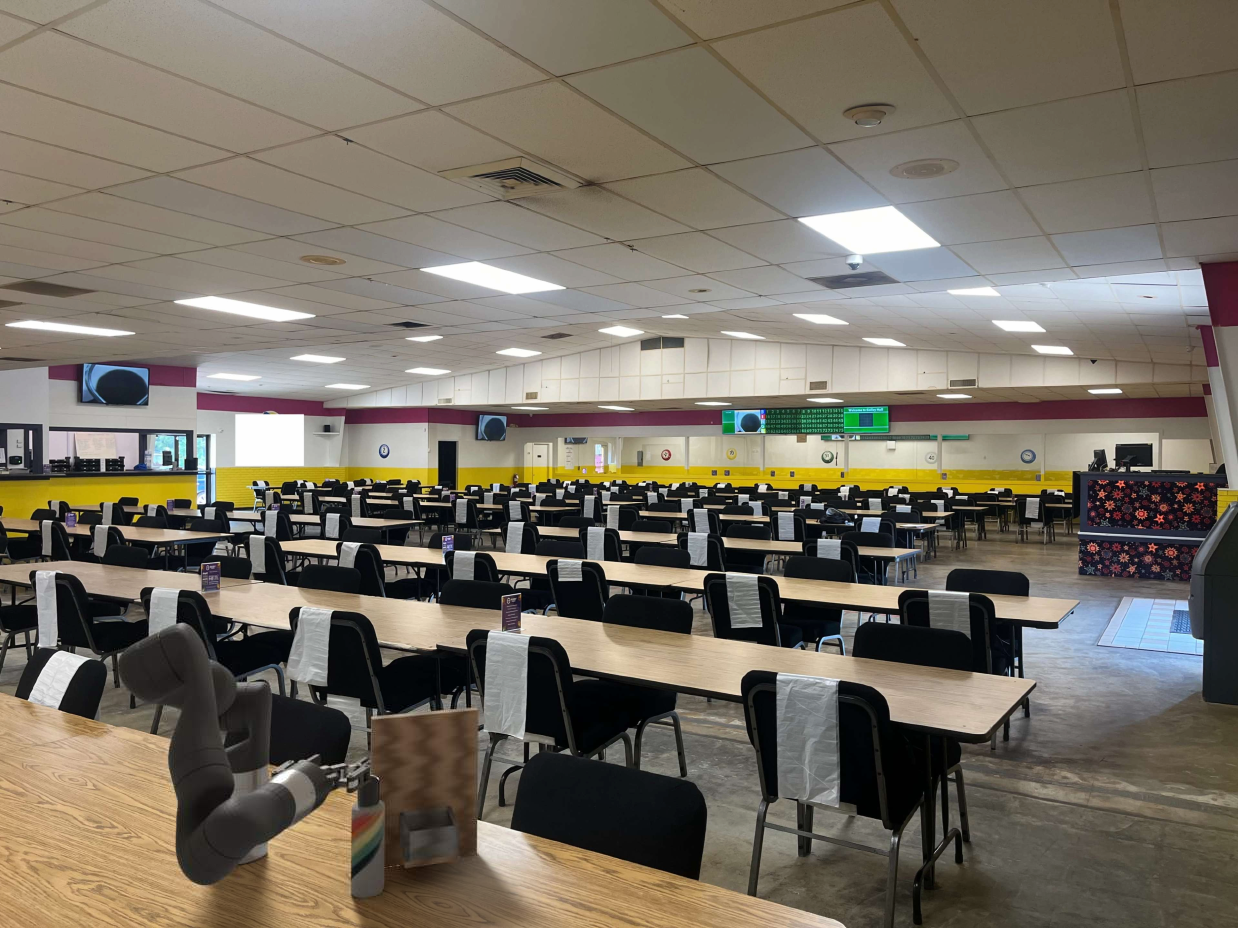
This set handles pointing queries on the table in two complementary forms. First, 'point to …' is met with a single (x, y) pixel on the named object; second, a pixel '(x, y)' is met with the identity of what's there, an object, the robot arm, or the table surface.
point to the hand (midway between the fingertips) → (342, 761)
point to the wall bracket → (427, 784)
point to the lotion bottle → (368, 841)
